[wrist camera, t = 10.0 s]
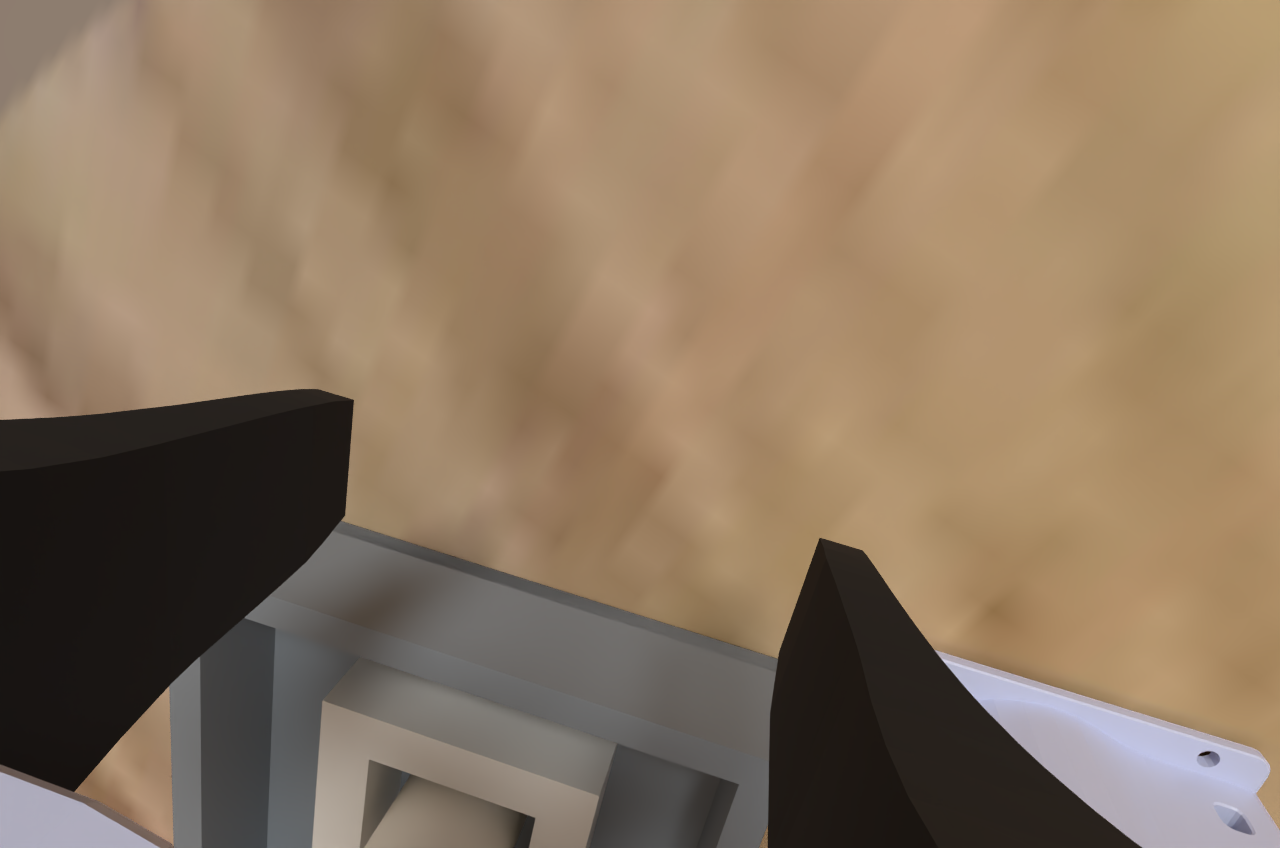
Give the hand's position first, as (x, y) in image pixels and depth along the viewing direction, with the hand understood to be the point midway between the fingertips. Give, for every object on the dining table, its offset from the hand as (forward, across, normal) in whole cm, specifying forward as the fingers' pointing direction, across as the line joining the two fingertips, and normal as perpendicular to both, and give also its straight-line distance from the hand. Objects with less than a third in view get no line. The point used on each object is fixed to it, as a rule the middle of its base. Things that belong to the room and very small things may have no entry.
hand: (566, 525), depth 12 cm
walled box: (+9, +3, +16) cm, 19 cm away
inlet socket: (+9, +3, +16) cm, 19 cm away
